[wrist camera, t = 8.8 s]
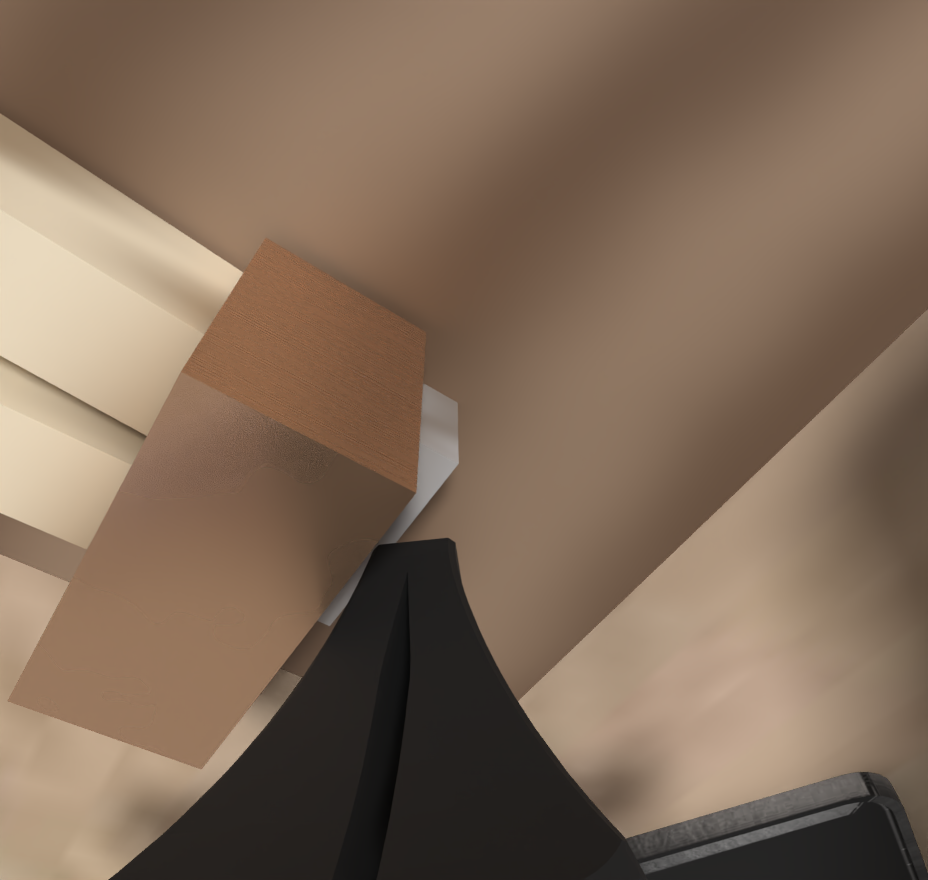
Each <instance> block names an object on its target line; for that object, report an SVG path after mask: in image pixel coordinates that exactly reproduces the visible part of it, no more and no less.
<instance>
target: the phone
mask: <svg viewBox="0 0 928 880" xmlns="http://www.w3.org/2000/svg"><path fill="white" fill-rule="evenodd" d="M626 840H627V842H628V844H629V846H630V848H631V850H632V852H633V853H634V855H635V857H636V859H637V861H638V862H639V864H640V866H641V868H642V870H643V872H644V874H645V875H646V877H647V879H648V880H928V873H927V870H926V867H925V864H924V862H923V859H922V856H921V853H920V851H919V848H918V845H917V843H916V840H915V837H914V834H913V832H912V829H911V826H910V823H909V821H908V818H907V815H906V813H905V810H904V807H903V806H902V804H901V802H900V800H899V798H898V796H897V794H896V792H895V790H894V788H893V786H892V785H891V783H890V782H889V781H888V779H887V778H885V777H883V776H881V775H879V774H875V773H870V772H855V773H850V774H845V775H841V776H838V777H834V778H831V779H827V780H824V781H821V782H817V783H814V784H810V785H807V786H804V787H800V788H797V789H793V790H790V791H787V792H783V793H780V794H776V795H773V796H770V797H766V798H763V799H759V800H756V801H753V802H749V803H746V804H742V805H739V806H736V807H732V808H729V809H725V810H722V811H719V812H715V813H712V814H708V815H705V816H702V817H698V818H695V819H691V820H688V821H684V822H681V823H678V824H674V825H671V826H667V827H664V828H661V829H657V830H654V831H650V832H647V833H644V834H640V835H637V836H633V837H630V838H627V839H626Z"/></svg>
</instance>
